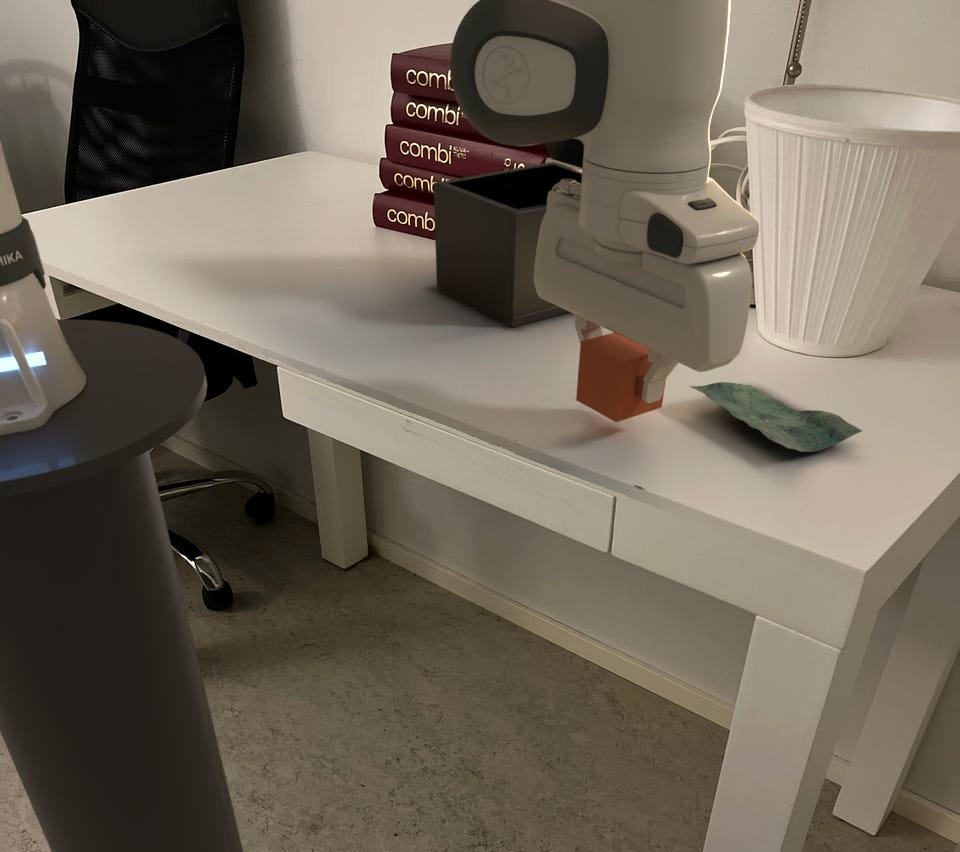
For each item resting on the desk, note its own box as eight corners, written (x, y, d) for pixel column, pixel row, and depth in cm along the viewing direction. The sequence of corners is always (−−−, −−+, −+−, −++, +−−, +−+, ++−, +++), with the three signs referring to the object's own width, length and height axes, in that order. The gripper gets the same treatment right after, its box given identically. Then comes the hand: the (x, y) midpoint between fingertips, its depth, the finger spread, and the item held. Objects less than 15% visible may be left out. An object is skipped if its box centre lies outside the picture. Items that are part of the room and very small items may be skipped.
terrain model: (682, 404, 83) (685, 383, 82) (750, 389, 86) (755, 369, 85) (785, 467, 74) (791, 445, 73) (857, 449, 78) (864, 427, 76)
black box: (512, 327, 98) (515, 213, 91) (436, 289, 107) (433, 182, 100) (629, 296, 105) (640, 187, 98) (549, 263, 114) (553, 161, 107)
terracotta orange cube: (616, 422, 76) (622, 362, 73) (575, 400, 79) (580, 341, 76) (662, 407, 78) (670, 348, 75) (621, 386, 82) (627, 328, 79)
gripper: (519, 177, 74) (512, 351, 83) (712, 245, 61) (681, 442, 70) (581, 167, 77) (569, 336, 86) (779, 230, 64) (741, 421, 73)
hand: (621, 385), depth 78 cm, fingers closed on terracotta orange cube, 5 cm apart
